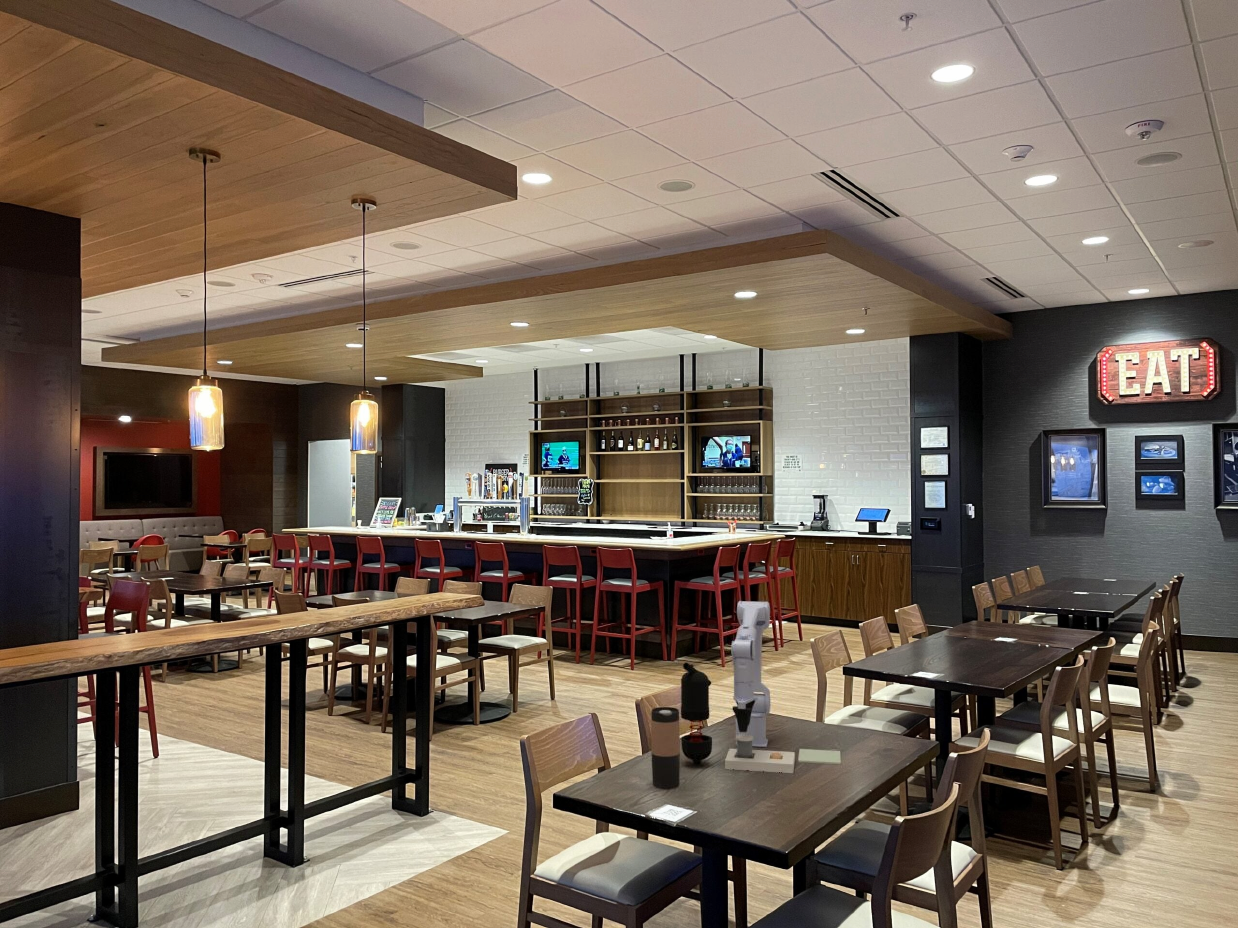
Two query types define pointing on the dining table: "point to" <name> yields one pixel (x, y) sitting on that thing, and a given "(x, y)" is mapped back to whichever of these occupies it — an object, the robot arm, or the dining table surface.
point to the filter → (695, 713)
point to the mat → (819, 756)
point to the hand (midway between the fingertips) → (744, 728)
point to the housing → (761, 761)
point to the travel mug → (665, 747)
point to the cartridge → (744, 746)
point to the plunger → (775, 756)
